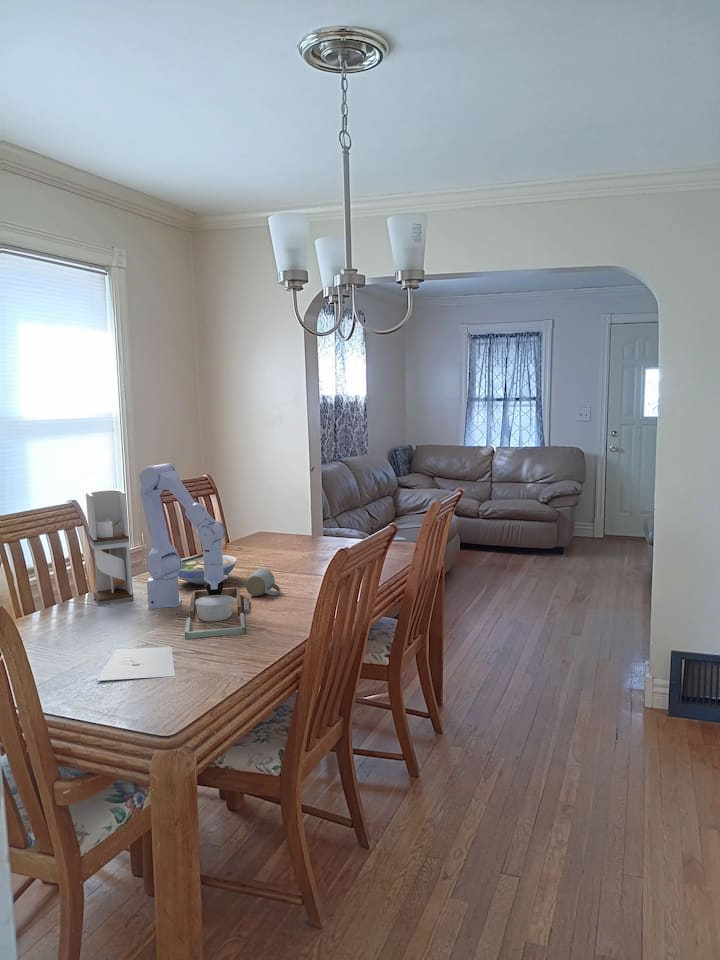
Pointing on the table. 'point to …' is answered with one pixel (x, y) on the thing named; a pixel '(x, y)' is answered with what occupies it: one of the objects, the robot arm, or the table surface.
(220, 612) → the ramekin
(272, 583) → the ceramic mug
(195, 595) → the brown wooden flat frame
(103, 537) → the white toy tower
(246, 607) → the grey metal bar
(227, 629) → the sage bay
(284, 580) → the table surface
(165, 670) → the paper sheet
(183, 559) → the ramen bowl
